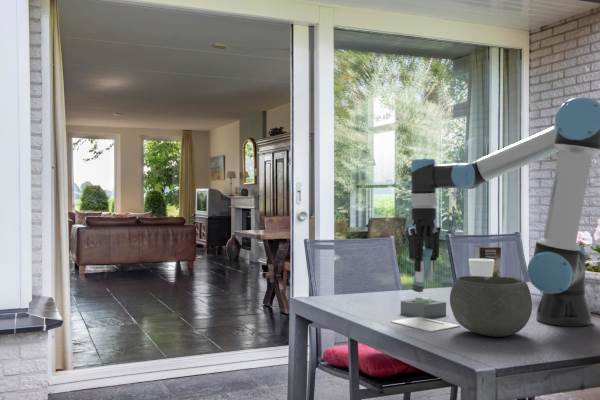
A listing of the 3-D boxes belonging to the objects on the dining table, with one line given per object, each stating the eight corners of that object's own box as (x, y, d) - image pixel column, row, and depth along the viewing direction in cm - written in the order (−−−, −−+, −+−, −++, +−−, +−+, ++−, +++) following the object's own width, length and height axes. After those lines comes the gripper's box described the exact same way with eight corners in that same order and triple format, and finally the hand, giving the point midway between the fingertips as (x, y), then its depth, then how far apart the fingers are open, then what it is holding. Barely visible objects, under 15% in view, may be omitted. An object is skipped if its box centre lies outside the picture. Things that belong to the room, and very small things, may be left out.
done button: (434, 314, 193) (434, 298, 193) (423, 316, 190) (423, 300, 190) (422, 312, 197) (422, 296, 197) (411, 313, 194) (411, 298, 194)
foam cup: (463, 293, 235) (464, 259, 235) (476, 290, 241) (477, 258, 241) (486, 296, 228) (486, 261, 228) (498, 293, 234) (498, 259, 234)
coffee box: (479, 285, 255) (479, 247, 255) (474, 283, 262) (474, 246, 262) (501, 285, 256) (501, 247, 256) (495, 283, 262) (495, 246, 262)
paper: (460, 326, 175) (460, 325, 175) (431, 331, 168) (431, 330, 168) (419, 317, 188) (419, 316, 188) (390, 322, 181) (390, 320, 181)
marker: (425, 291, 195) (435, 250, 192) (417, 292, 193) (426, 251, 190) (417, 287, 198) (426, 246, 195) (409, 288, 196) (418, 247, 193)
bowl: (454, 342, 156) (454, 283, 156) (446, 325, 177) (446, 273, 177) (540, 345, 154) (540, 285, 153) (521, 327, 174) (521, 274, 174)
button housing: (446, 314, 192) (446, 302, 192) (423, 318, 186) (423, 305, 186) (422, 310, 200) (422, 297, 200) (400, 313, 195) (400, 300, 194)
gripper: (432, 207, 201) (433, 278, 201) (396, 207, 191) (397, 282, 191) (450, 206, 195) (451, 280, 195) (413, 207, 185) (414, 284, 185)
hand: (424, 281), depth 193 cm, fingers closed on marker, 3 cm apart
